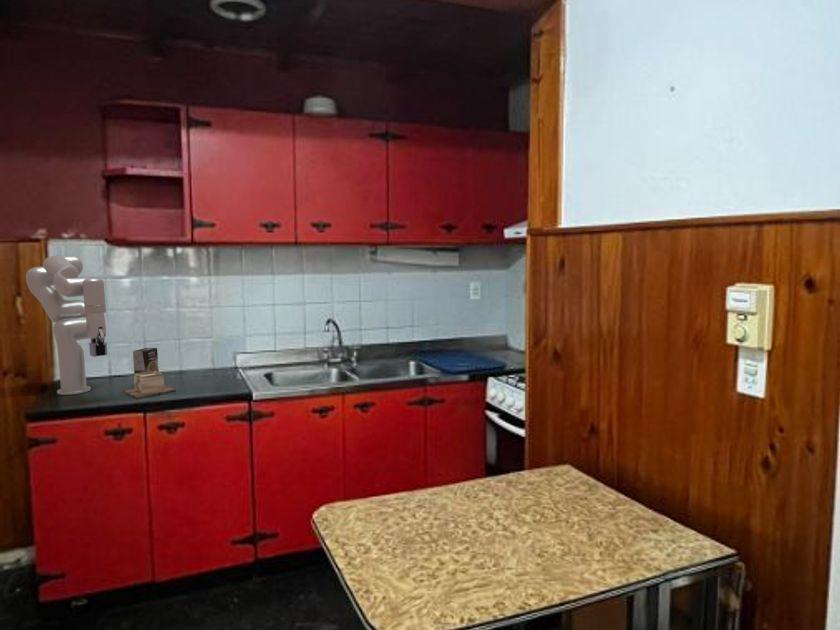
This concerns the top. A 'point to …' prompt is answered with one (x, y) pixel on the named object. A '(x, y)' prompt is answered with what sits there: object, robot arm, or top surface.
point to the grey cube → (93, 349)
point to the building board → (139, 395)
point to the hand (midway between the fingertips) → (98, 353)
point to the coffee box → (145, 360)
